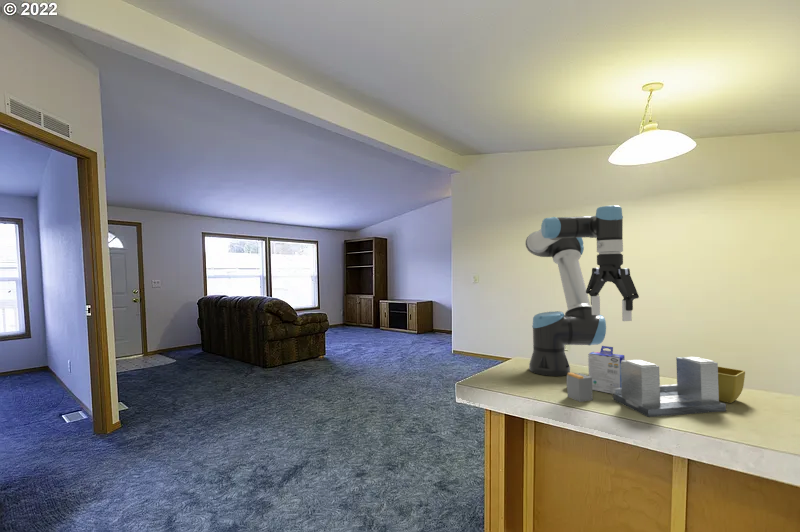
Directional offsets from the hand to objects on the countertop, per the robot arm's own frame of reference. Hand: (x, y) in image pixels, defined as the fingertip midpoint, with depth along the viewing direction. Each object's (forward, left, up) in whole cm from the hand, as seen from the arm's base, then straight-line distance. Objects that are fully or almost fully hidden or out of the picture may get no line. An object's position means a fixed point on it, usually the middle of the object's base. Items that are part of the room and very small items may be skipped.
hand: (610, 317), depth 123 cm
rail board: (+14, +7, -24) cm, 29 cm away
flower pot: (+13, +27, -25) cm, 39 cm away
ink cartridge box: (-1, -1, -25) cm, 25 cm away
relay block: (+4, -14, -24) cm, 28 cm away
